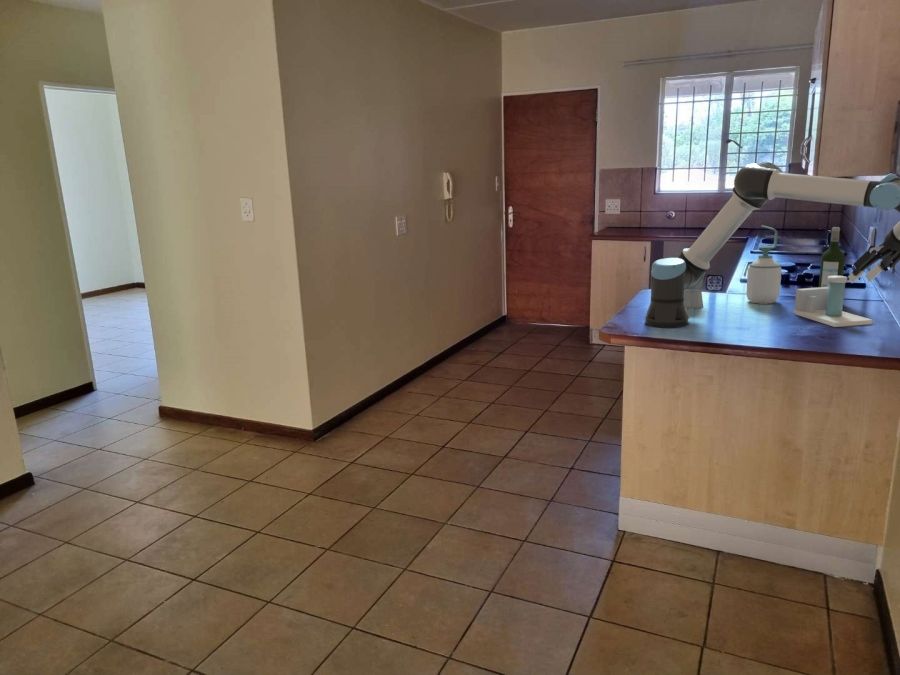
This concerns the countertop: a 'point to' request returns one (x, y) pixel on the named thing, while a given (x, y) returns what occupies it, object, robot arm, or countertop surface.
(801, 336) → the countertop surface
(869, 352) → the countertop surface
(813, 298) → the mount
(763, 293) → the soap bottle
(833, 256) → the wine bottle
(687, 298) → the coffee maker
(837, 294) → the teal jar
